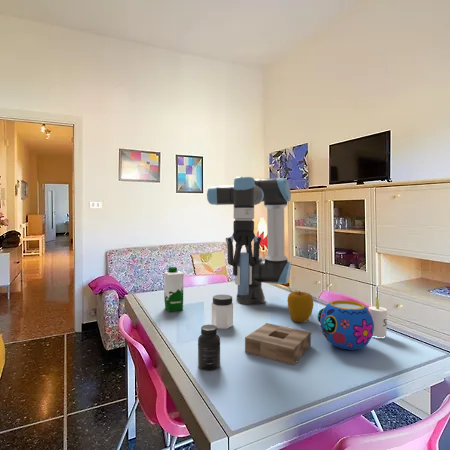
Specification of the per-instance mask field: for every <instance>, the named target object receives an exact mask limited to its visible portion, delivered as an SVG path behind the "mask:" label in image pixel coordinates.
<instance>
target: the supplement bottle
mask: <svg viewBox="0 0 450 450" xmlns="http://www.w3.org/2000/svg"><path fill="white" fill-rule="evenodd" d="M200 329H201V330H200V335H199V337H198V338H197V364H198V365H197V366H198V367H199V369H201V370H204V371H214V370H217V369H218V368H219V367H220V365H221V338H220V336H219V335H218V328H217V327H216V326H215V325H212V324H204V325H202V326H201V328H200Z"/></svg>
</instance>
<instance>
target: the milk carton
mask: <svg viewBox="0 0 450 450" xmlns="http://www.w3.org/2000/svg"><path fill="white" fill-rule="evenodd" d="M163 273H164V274H163V275H164V281H163V282H164V286H163V287H164V296H163V297H164V308H165V310H167V312H168V313H171V312H179V311H180V312H181V311H184V273H183V272H182V271H180V270H178V267H176V266H169V267H168V271H164V272H163Z"/></svg>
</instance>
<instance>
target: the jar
mask: <svg viewBox="0 0 450 450" xmlns="http://www.w3.org/2000/svg"><path fill="white" fill-rule="evenodd" d="M211 325H215V326H216V327H217V329H220V330H221V329H222V330H223V329H225V330H227V329H229V328H230V327H233V326H234V303H233V296H232V295H231V294H216V295H213V296H212V302H211Z"/></svg>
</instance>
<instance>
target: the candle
mask: <svg viewBox="0 0 450 450" xmlns="http://www.w3.org/2000/svg"><path fill="white" fill-rule="evenodd" d="M379 301H380V300H379V298H378V297H377V296H375V306H374V305H373V306H369V307H368V310H369V312H370V313H371V316H372V319H373V323H374V332H373V336H377V337H384V336H386V337H387V322H388V309H387V308H385V307H383V306H380V302H379Z"/></svg>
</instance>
